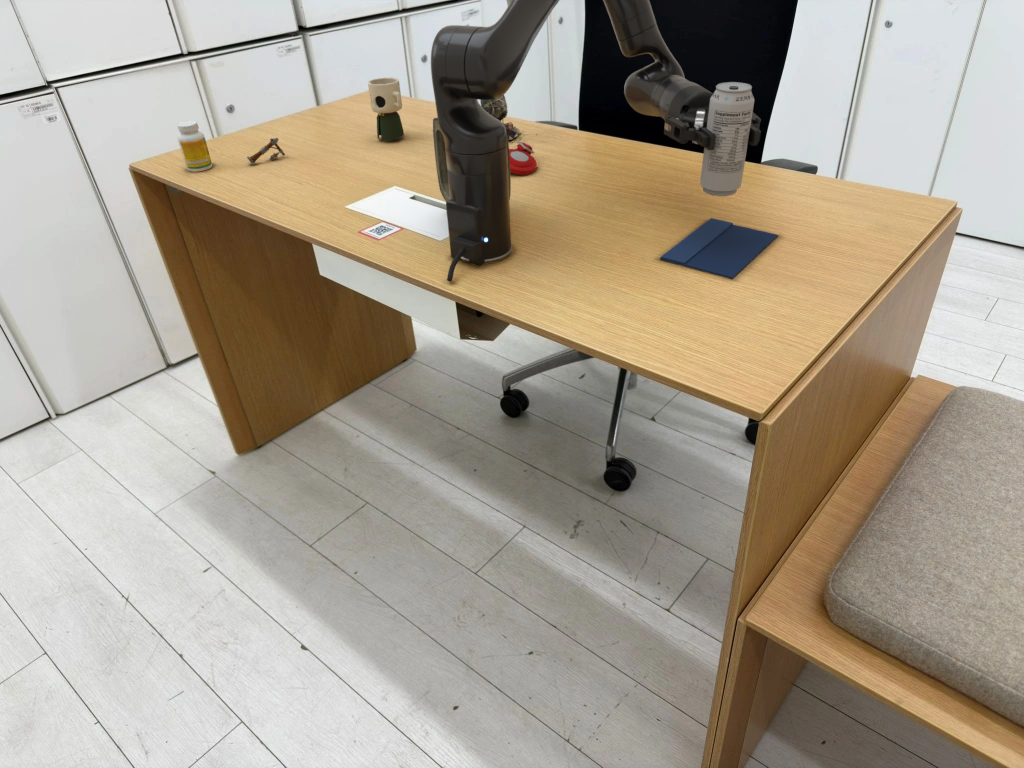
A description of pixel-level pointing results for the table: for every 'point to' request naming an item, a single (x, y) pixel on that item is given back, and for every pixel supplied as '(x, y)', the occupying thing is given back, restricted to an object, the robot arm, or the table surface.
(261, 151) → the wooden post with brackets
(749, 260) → the open blue folder
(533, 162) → the tracker holder
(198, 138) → the supplement bottle
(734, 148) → the energy drink can
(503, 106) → the plant with pod
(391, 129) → the character mug
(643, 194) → the table surface
